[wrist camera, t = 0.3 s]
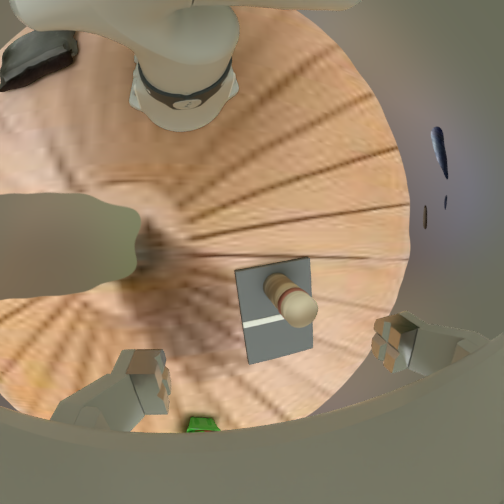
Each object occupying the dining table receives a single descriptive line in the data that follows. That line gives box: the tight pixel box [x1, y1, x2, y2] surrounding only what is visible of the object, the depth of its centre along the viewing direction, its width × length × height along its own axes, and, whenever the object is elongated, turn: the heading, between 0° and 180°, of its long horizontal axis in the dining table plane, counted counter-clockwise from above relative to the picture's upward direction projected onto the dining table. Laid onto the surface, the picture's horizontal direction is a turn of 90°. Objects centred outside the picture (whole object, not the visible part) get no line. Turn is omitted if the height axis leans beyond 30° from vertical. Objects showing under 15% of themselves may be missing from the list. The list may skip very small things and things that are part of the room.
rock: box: [0, 30, 78, 92], centre depth 26 cm, size 18×11×8 cm, turn 97°
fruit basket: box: [187, 417, 221, 433], centre depth 49 cm, size 11×9×11 cm
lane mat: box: [235, 257, 313, 365], centre depth 52 cm, size 20×14×1 cm
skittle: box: [263, 273, 318, 328], centre depth 44 cm, size 5×5×12 cm
